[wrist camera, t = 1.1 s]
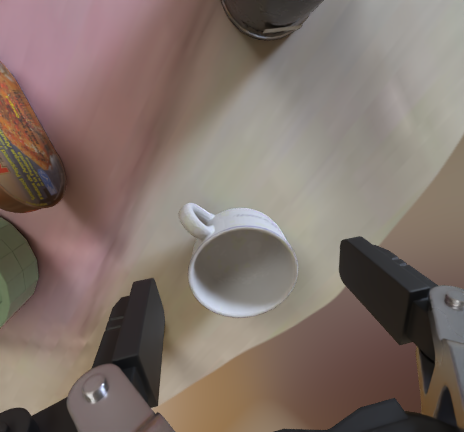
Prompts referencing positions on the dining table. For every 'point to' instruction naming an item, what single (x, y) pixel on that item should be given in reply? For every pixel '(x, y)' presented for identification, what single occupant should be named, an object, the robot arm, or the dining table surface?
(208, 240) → the teacup
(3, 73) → the tin
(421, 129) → the dining table surface
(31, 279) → the bowl
